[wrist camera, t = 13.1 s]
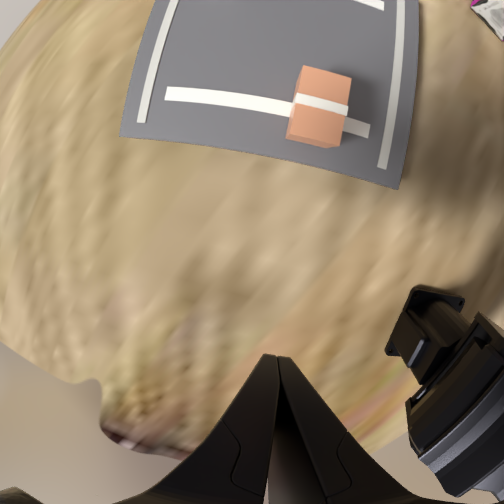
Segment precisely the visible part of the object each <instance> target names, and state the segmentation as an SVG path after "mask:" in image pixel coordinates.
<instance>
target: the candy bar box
mask: <svg viewBox="0 0 504 504" xmlns="http://www.w3.org/2000/svg"><path fill="white" fill-rule="evenodd" d="M471 9H472V10H473V11H474V12H475V13H476V14H477V15H478V16H479V17H480V18H481V19H482V20H483V21H484V22H485V23H486V24H487V25H488V27H489V28H490V29H491V30H492V31H493V32H494V33H495V34H496V35H497V36H498V38H499V39H500V40H501V41H504V0H473V1H472V4H471Z"/></svg>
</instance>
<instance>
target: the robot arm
mask: <svg viewBox="0 0 504 504" xmlns="http://www.w3.org/2000/svg"><path fill="white" fill-rule="evenodd" d="M415 293H417V295H416V296H414V295H415ZM459 302H460V303H459ZM464 303H465V299H464V298H463V297H461V296H458V295H452V294H447V293H442V292H436V291H431V290H426V289H421V288H414V289H412V290H411V292H410V294H409V296H408V299H407V301H406V303H405V306H404V308H403V311H402V312H401V314H400V316H399V319H398V321H397V323H396V325H395V327H394V330H393V332H392V334H391V336H390V339H389V341H388V343H387V345H386V347H385V353H386V355H388V356H401V357H402V359H403V361H404V363H405V364H406V366H407V367H408V368H410V369H411V371H412V372H413V374H414V376H415V378H416V380H417V381H418V383H419V385H423V386H422V387H421V388H420V389H419V390H418V391H417V392H416V393H415V394H414V395H413V396H412V397H410V398H409V399H408V400H407V401H406V402H405V406H406V414H407V423H408V433H409V441H410V445H411V448H412V449H413V450H414V451H415V453H416V454H417V455H418V459H419V460H420V461H422V462H423V463H424V464H426V465H427V466H428V467H429V468H430V469H431V471H432V472H433V473H434V474H435V476H436V477H437V479H438V480H439V482H440V483H441V485H442V487H443V489H444V490H445V492H446V493H448V494H450V495H453V496H454V497H461V496H462V495H464V494H465V493H466V492H468V491H469V490H471V489H477V490H483V491H489V492H491V493H492V494H493V495H494V496H495V497H496V498H497V500H498V501H499V502H498V503H494V504H504V330H503V329H502V328H500V327H499V326H498V325H496V324H495V323H494V322H492V321H491V320H490V319H488V318H487V317H486V316H484V315H483V314H482V313H480V312H479V311H478V313H477V314H476V316H475V317H474V318H475V319H474V321H473V322H472V324H470V323H469V322H468V321H467V320H466V319H465V318H464V317H463V316H462V315H461V314H460V312H461V310H462V308H463V305H464ZM390 349H391V350H390ZM389 350H390V351H389ZM267 478H268V499H269V504H465V503H454V502H445V501H439V500H432V499H427V498H422V497H419V496H417V495H415V494H412V493H411V492H410V491H408V490H407V489H405V488H404V487H403V486H402V485H401V484H400V483H398V482H397V481H396V480H395V479H394V478H392V476H391V475H390V474H388V473H387V472H386V471H385V470H384V469H383V468H382V467H381V466H380V465H379V464H378V463H377V462H375V460H374V459H373V458H372V457H371V456H370V455H369V454H368V453H367V452H366V451H365V450H364V449H363V448H362V447H361V446H360V444H359V443H358V442H357V441H356V440H355V439H354V437H353V436H352V435H351V434H350V433H349V432H347V429H346V428H345V427H344V425H343V424H342V423H341V422H340V420H339V419H338V418H337V417H336V415H335V414H334V413H333V412H332V410H331V409H330V408H329V407H328V405H327V404H326V403H325V401H324V400H323V399H322V398H321V396H320V395H319V394H318V393H317V391H316V390H315V389H314V387H313V386H312V385H311V384H310V382H309V381H308V380H307V378H306V377H305V376H304V374H303V373H302V372H301V371H300V369H299V368H298V367H297V365H296V364H295V363H294V361H293V360H292V359H291V358H290V357H284V356H278V357H277V356H275V355H271V354H263V355H262V357H261V358H260V360H259V361H258V363H257V365H256V366H255V368H254V369H253V371H252V372H251V374H250V375H249V377H248V378H247V380H246V381H245V383H244V385H243V386H242V388H241V389H240V390H239V392H238V393H237V395H236V396H235V398H234V399H233V401H232V402H231V404H230V405H229V407H228V408H227V410H226V411H225V412H224V414H223V415H222V417H221V418H220V420H219V421H218V422H217V424H216V425H215V426H214V428H213V429H212V430H211V432H210V433H209V434H208V435H207V437H206V438H205V439H204V440H203V441H202V443H201V444H200V445H199V446H198V447H197V448H196V449H195V450H194V451H193V452H192V453H191V454H190V455H189V456H188V457H187V458H185V459H184V460H183V461H182V462H181V463H180V464H179V465H178V466H177V467H175V468H174V469H173V470H172V471H171V472H170V473H169V474H168V475H166V476H165V477H164V478H163V479H162V480H161V481H159V482H158V483H157V484H155V485H154V486H152V487H151V488H150V489H148V490H146V491H144V492H143V493H141V494H138V495H136V496H133V497H130V498H128V499H125V500H122V501H119V502H116V503H113V504H263V501H264V495H265V489H266V483H267ZM0 504H43V503H42V502H40V501H39V500H37V499H35V498H34V497H32V496H30V495H29V494H28V493H26V492H24V491H23V490H21V489H19V488H17V487H11V488H8V489H5V490H2V491H0Z"/></svg>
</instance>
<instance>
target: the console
mask: <svg viewBox="0 0 504 504" xmlns="http://www.w3.org/2000/svg"><path fill="white" fill-rule="evenodd" d="M418 45H419V3H418V0H155V3H154V5H153V8H152V11H151V13H150V16H149V19H148V22H147V25H146V28H145V31H144V34H143V37H142V40H141V43H140V46H139V50H138V53H137V57H136V60H135V64H134V68H133V72H132V75H131V79H130V84H129V88H128V92H127V97H126V101H125V106H124V111H123V116H122V122H121V127H120V133H119V137H127V138H139V139H150V140H161V141H170V142H179V143H187V144H195V145H202V146H209V147H216V148H223V149H229V150H235V151H241V152H246V153H252V154H257V155H262V156H267V157H272V158H277V159H282V160H287V161H291V162H296V163H300V164H304V165H309V166H313V167H317V168H321V169H325V170H329V171H333V172H337V173H340V174H344V175H348V176H351V177H355V178H358V179H362V180H365V181H369V182H372V183H375V184H379V185H382V186H385V187H389V188H392V189H396V190H398V188H399V184H400V179H401V175H402V170H403V166H404V161H405V156H406V150H407V145H408V139H409V133H410V127H411V120H412V113H413V106H414V97H415V88H416V78H417V64H418ZM303 65H305V66H309V67H313V68H317V69H321V70H325V71H329V72H332V73H336V74H339V75H342V76H346V77H349V78H352V79H351V85H350V91H349V97H348V103H347V106H348V112H347V116H345V120H344V125H343V131H342V136H341V141H340V146H337V147H331V148H322V147H318V146H314V145H310V144H306V143H302V142H298V141H293V140H289V139H285V137H286V132H287V127H288V122H289V117H290V112H291V107H292V102H293V97H294V92H295V87H296V82H297V80H298V77H299V74H300V72H301V69H302V67H303Z"/></svg>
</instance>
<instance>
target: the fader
mask: <svg viewBox="0 0 504 504" xmlns="http://www.w3.org/2000/svg"><path fill="white" fill-rule="evenodd" d="M351 79H352V78H349V77H346V76H342V75H339V74H336V73H332V72H329V71H325V70H321V69H317V68H313V67H309V66H305V65H303V67H302V69H301V72H300V74H299V77H298V80H297V82H296V87H295V92H294V97H293V102H292V107H291V112H290V117H289V122H288V127H287V132H286V137H285V139H289V140H293V141H298V142H302V143H306V144H310V145H314V146H318V147H322V148H331V147H337V146H340V141H341V136H342V131H343V125H344V120H345V116H347V112H348V106H347V103H348V97H349V91H350V85H351Z"/></svg>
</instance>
